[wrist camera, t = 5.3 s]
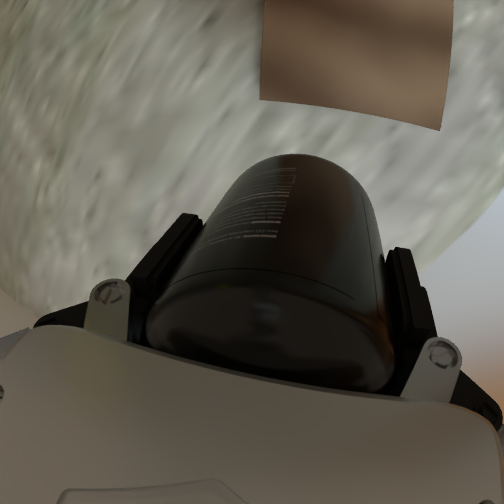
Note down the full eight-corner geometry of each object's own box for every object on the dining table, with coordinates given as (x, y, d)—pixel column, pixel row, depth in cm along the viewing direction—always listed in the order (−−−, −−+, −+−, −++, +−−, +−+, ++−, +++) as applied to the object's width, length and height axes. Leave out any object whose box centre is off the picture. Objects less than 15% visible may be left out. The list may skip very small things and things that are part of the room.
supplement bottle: (223, 266, 17) (114, 488, 7) (231, 137, 13) (-2, 381, 3) (353, 295, 16) (330, 544, 6) (395, 170, 12) (480, 504, 2)
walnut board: (271, -78, 12) (268, -83, 11) (447, -49, 10) (451, -53, 9) (262, 98, 20) (259, 99, 19) (435, 128, 18) (439, 131, 17)
